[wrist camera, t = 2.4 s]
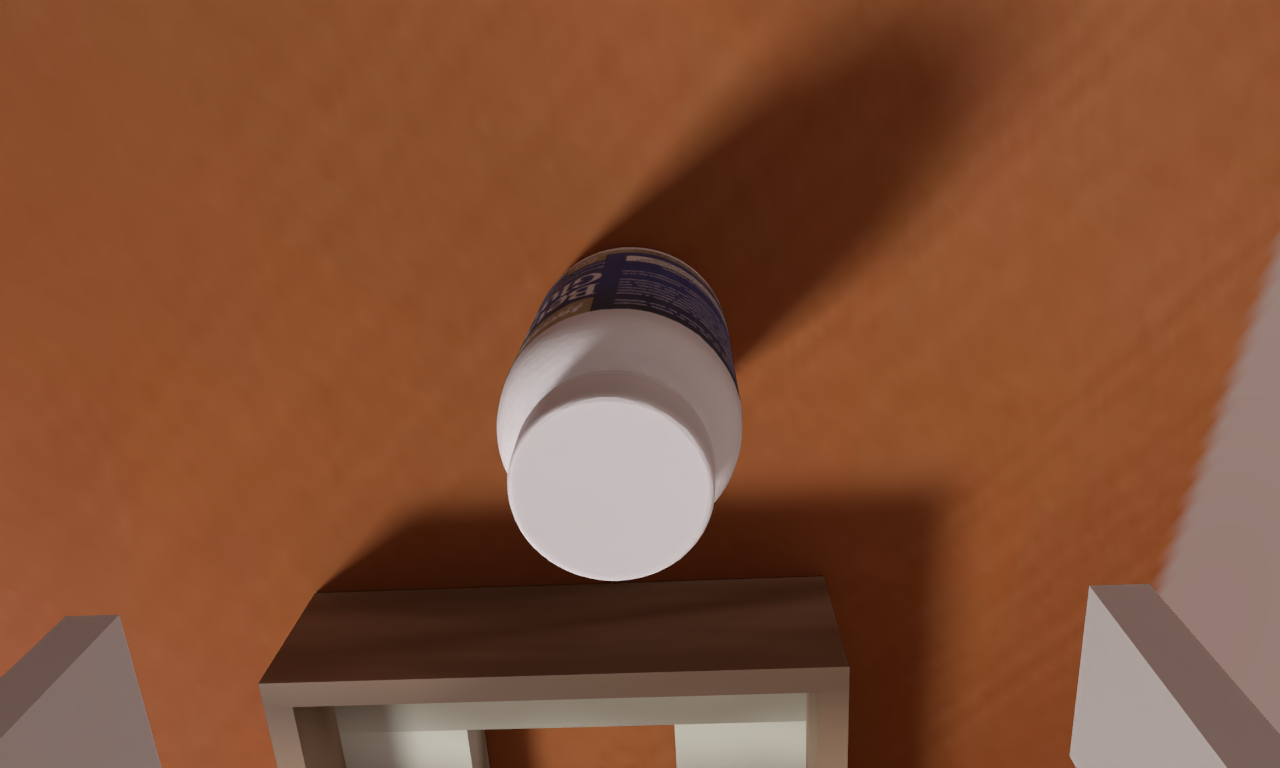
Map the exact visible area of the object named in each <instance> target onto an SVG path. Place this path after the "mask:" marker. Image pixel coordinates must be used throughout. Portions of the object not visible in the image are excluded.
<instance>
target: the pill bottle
mask: <svg viewBox="0 0 1280 768" xmlns="http://www.w3.org/2000/svg"><path fill="white" fill-rule="evenodd" d="M741 439H742V409H741V402H740V397H739V391H738V386H737V381H736V375H735V369H734V363H733V357H732V351H731V345H730V339H729V333H728V328H727V323H726V319H725V316H724V313H723V310H722V308H721V305H720V303H719V301H718V299H717V297H716V295H715V293H714V292H713V290H712V289H711V287H710V286H709V285H708V283H707V282H706V281H705V280H704V279H703V278H702V277H701V276H700V275H699V274H698V273H697V272H696V271H695V270H694V269H693V268H691V267H690V266H689V265H687V264H686V263H684V262H683V261H681V260H679V259H678V258H676V257H673V256H671V255H669V254H666V253H663V252H660V251H657V250H653V249H647V248H638V247H621V248H615V249H609V250H605V251H602V252H598V253H596V254H593V255H591V256H589V257H586V258H585V259H583V260H581V261H580V262H578V263H576V264H575V265H574V266H572V267H571V268H570V269H569V270H567V271H566V272H565V273H564V274H563V275H562V276H561V277H560V278H559V279H558V280H557V281H556V283H555V284H554V285H553V286H552V288H551V289H550V291H549V292H548V294H547V295H546V297H545V299H544V301H543V303H542V305H541V307H540V309H539V311H538V313H537V315H536V317H535V319H534V322H533V323H532V325H531V327H530V330H529V332H528V334H527V336H526V338H525V340H524V342H523V344H522V346H521V348H520V351H519V353H518V355H517V357H516V358H515V361H514V363H513V365H512V367H511V369H510V371H509V373H508V376H507V379H506V381H505V385H504V388H503V391H502V395H501V398H500V403H499V408H498V414H497V441H498V447H499V452H500V456H501V459H502V462H503V465H504V468H505V470H506V472H507V474H508V476H507V489H508V498H509V503H510V508H511V510H512V513H513V516H514V519H515V521H516V523H517V525H518V527H519V529H520V531H521V532H522V534H523V535H524V537H525V538H526V539H527V541H528V542H529V543H530V544H531V545H532V546H533V548H535V549H536V550H537V551H538V552H539V553H540V554H541V555H542V556H544V557H545V558H546V559H547V560H548V561H550V562H552V563H553V564H555V565H557V566H558V567H560V568H562V569H564V570H566V571H568V572H571V573H573V574H576V575H579V576H583V577H587V578H591V579H596V580H605V581H622V580H632V579H636V578H641V577H645V576H648V575H652V574H654V573H657V572H659V571H661V570H663V569H665V568H667V567H669V566H671V565H672V564H674V563H675V562H677V561H678V560H680V559H681V558H682V557H683V556H684V555H685V554H686V553H687V552H688V551H689V550H691V548H692V547H693V546H694V545H695V544H696V543H697V541H698V540H699V538H700V537H701V535H702V534H703V532H704V531H705V529H706V527H707V524H708V522H709V520H710V517H711V514H712V511H713V506H714V503H715V501H716V500H717V499H718V498H719V496H720V495H721V494H722V492H723V491H724V489H725V487H726V486H727V484H728V482H729V480H730V478H731V476H732V474H733V471H734V469H735V466H736V463H737V459H738V456H739V452H740V447H741Z"/></svg>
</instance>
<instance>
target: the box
mask: <svg viewBox="0 0 1280 768" xmlns="http://www.w3.org/2000/svg"><path fill="white" fill-rule="evenodd" d="M849 677H850V666H849V662H848V659H847V655H846V652H845V648H844V645H843V641H842V638H841V634H840V630H839V627H838V623H837V620H836V616H835V613H834V609H833V606H832V602H831V599H830V595H829V591H828V588H827V584H826V581H825V577H824V576H817V577H787V578H756V579H726V580H696V581H666V582H636V583H605V584H575V585H545V586H515V587H484V588H454V589H424V590H394V591H363V592H333V593H315V594H314V596H313V597H312V599H311V601H310V602H309V604H308V605H307V607H306V609H305V610H304V612H303V613H302V615H301V617H300V618H299V620H298V621H297V623H296V624H295V626H294V628H293V629H292V631H291V632H290V634H289V636H288V637H287V639H286V640H285V642H284V644H283V645H282V647H281V648H280V650H279V652H278V653H277V655H276V656H275V658H274V660H273V661H272V663H271V664H270V666H269V668H268V669H267V671H266V672H265V674H264V675H263V677H262V679H261V680H260V682H259V683H258V685H259V689H260V693H261V698H262V702H263V706H264V711H265V715H266V719H267V723H268V728H269V732H270V736H271V741H272V745H273V749H274V754H275V758H276V762H277V767H278V768H490V765H489V758H488V750H487V743H486V736H485V730H486V729H524V728H563V727H601V726H639V725H675V743H676V762H677V768H847V766H848V722H849Z"/></svg>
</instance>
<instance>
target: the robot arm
mask: <svg viewBox="0 0 1280 768" xmlns="http://www.w3.org/2000/svg"><path fill="white" fill-rule="evenodd" d="M1070 757H1071V759H1072V761H1073V763H1074V765H1075V767H1076V768H1280V734H1279V733H1278V732H1277V731H1276V729H1275V728H1274V727H1273V726H1272V725H1271V724H1270V723H1269V721H1268V720H1267V719H1266V718H1265V717H1264V716H1263V715H1262V713H1261V712H1260V711H1259V710H1258V709H1257V708H1256V706H1255V705H1254V704H1253V703H1252V702H1251V701H1250V700H1249V698H1248V697H1247V696H1246V695H1245V694H1244V693H1243V692H1242V690H1241V689H1240V688H1239V687H1238V686H1237V685H1236V683H1235V682H1234V681H1233V680H1232V679H1231V678H1230V677H1229V675H1228V674H1227V673H1226V672H1225V671H1224V670H1223V669H1222V667H1221V666H1220V665H1219V664H1218V663H1217V662H1216V660H1215V659H1214V658H1213V657H1212V656H1211V655H1210V654H1209V652H1208V651H1207V650H1206V649H1205V648H1204V647H1203V645H1202V644H1201V643H1200V642H1199V641H1198V640H1197V639H1196V638H1195V636H1194V635H1193V634H1192V633H1191V632H1190V630H1189V629H1188V628H1187V627H1186V626H1185V625H1184V624H1183V623H1182V621H1181V620H1180V619H1179V618H1178V617H1177V615H1176V614H1175V613H1174V612H1173V611H1172V610H1171V609H1170V607H1169V606H1168V605H1167V604H1166V603H1165V602H1164V601H1163V599H1162V598H1161V597H1160V596H1159V595H1158V594H1157V592H1156V591H1155V590H1154V589H1153V588H1152V587H1151V586H1150V584H1131V585H1097V586H1089V593H1088V602H1087V611H1086V619H1085V628H1084V636H1083V645H1082V654H1081V662H1080V671H1079V679H1078V688H1077V697H1076V705H1075V714H1074V722H1073V731H1072V740H1071V748H1070ZM0 768H161V764H160V760H159V757H158V753H157V749H156V746H155V742H154V739H153V735H152V731H151V728H150V724H149V720H148V717H147V713H146V710H145V706H144V702H143V699H142V695H141V691H140V688H139V684H138V681H137V677H136V673H135V670H134V666H133V663H132V659H131V655H130V652H129V648H128V644H127V641H126V637H125V634H124V630H123V626H122V623H121V619H120V615H95V616H66V617H65V618H63V619H62V620H61V621H60V622H59V623H58V624H57V625H56V626H55V627H54V628H53V629H52V630H51V631H50V632H49V633H48V634H47V635H46V636H45V637H43V638H42V639H41V640H40V641H39V642H38V643H37V644H36V645H35V646H34V647H33V648H32V649H31V650H30V651H29V652H28V653H27V654H26V655H25V656H24V657H22V658H21V659H20V660H19V661H18V662H17V663H16V664H15V665H14V666H13V667H12V668H11V669H10V670H9V671H8V672H7V673H6V674H5V675H4V676H2V677H1V678H0Z"/></svg>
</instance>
